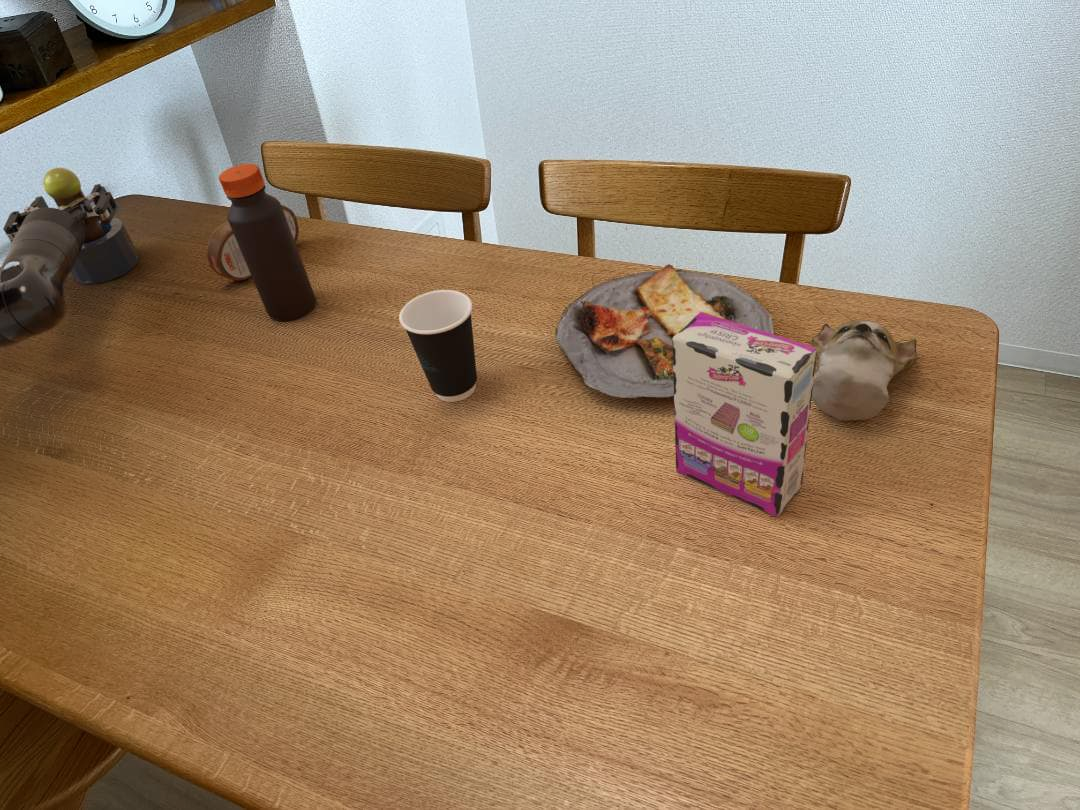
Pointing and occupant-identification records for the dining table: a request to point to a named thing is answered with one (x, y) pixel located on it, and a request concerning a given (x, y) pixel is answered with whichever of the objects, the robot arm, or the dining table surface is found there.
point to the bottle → (267, 244)
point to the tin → (236, 250)
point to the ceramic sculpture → (857, 368)
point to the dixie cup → (443, 341)
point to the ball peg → (69, 196)
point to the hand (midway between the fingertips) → (71, 196)
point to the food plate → (646, 327)
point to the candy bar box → (742, 409)
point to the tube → (106, 256)
